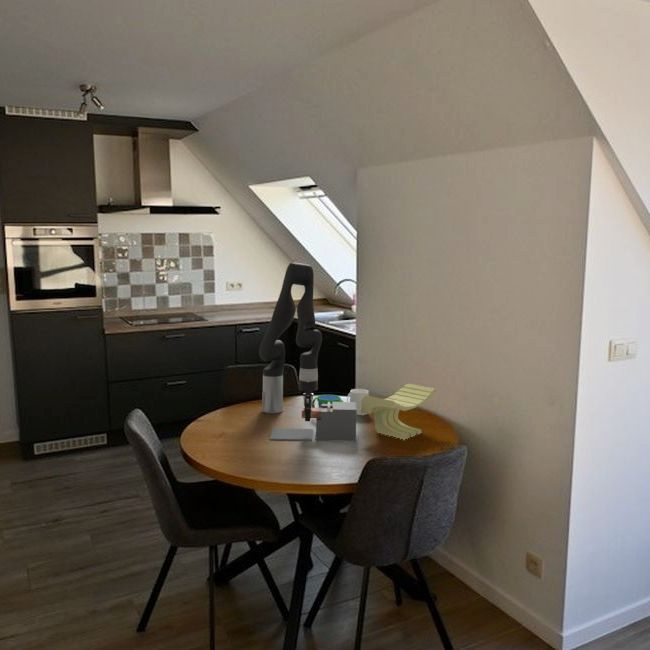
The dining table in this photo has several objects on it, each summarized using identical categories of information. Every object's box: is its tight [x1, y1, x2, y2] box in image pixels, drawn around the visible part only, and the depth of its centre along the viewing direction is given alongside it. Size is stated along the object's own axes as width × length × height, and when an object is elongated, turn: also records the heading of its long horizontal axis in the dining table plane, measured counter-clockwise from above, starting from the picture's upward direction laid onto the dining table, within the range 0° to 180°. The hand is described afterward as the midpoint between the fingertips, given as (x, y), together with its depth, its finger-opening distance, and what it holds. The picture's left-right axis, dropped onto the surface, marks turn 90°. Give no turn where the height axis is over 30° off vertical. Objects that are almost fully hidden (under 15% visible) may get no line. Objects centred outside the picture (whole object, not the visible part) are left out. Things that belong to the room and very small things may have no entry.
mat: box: [269, 427, 314, 442], centre depth 263 cm, size 17×14×1 cm
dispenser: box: [315, 401, 357, 442], centre depth 262 cm, size 16×12×13 cm
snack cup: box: [311, 394, 345, 408], centre depth 286 cm, size 16×10×10 cm
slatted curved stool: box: [361, 383, 436, 441], centre depth 267 cm, size 30×16×18 cm, turn 139°
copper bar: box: [301, 407, 333, 419], centre depth 261 cm, size 15×5×3 cm, turn 90°
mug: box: [346, 388, 370, 416], centre depth 297 cm, size 9×12×11 cm
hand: (307, 419), depth 262 cm, fingers closed on copper bar, 5 cm apart
